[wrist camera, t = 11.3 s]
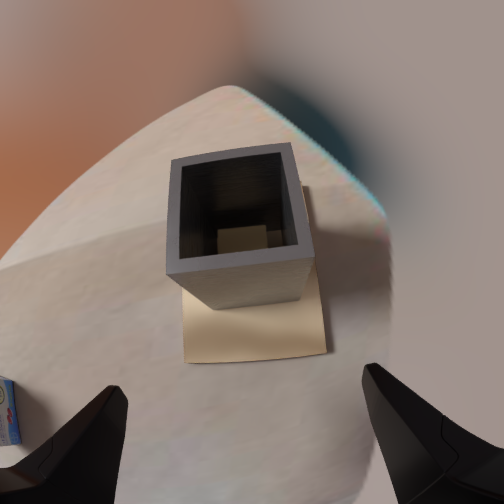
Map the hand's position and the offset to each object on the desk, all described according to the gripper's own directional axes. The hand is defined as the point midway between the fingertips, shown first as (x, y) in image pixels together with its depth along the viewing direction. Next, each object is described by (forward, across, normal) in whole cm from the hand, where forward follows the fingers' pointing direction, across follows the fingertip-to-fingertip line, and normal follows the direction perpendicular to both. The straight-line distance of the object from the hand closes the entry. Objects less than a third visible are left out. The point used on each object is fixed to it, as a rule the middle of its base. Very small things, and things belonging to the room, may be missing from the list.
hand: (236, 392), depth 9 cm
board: (+14, 0, +2) cm, 14 cm away
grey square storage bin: (+13, 0, +1) cm, 13 cm away
